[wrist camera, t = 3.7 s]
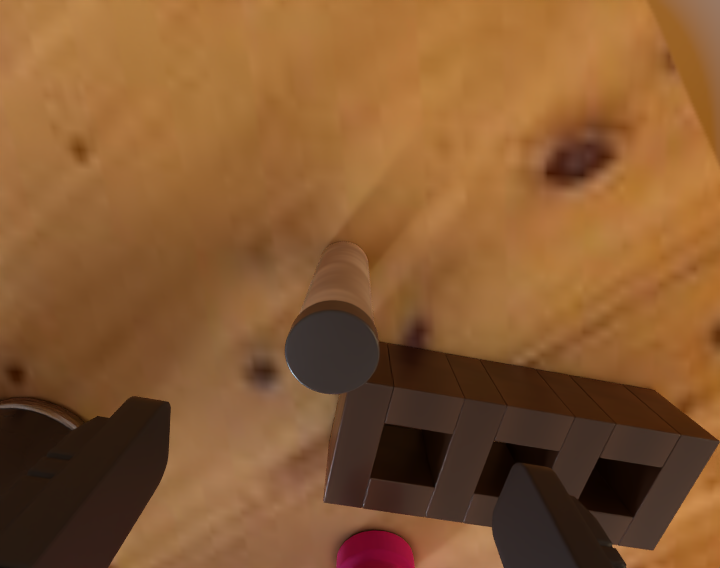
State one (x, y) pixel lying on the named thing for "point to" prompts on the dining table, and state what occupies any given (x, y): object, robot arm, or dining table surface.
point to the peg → (335, 325)
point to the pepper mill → (375, 551)
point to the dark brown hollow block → (510, 443)
